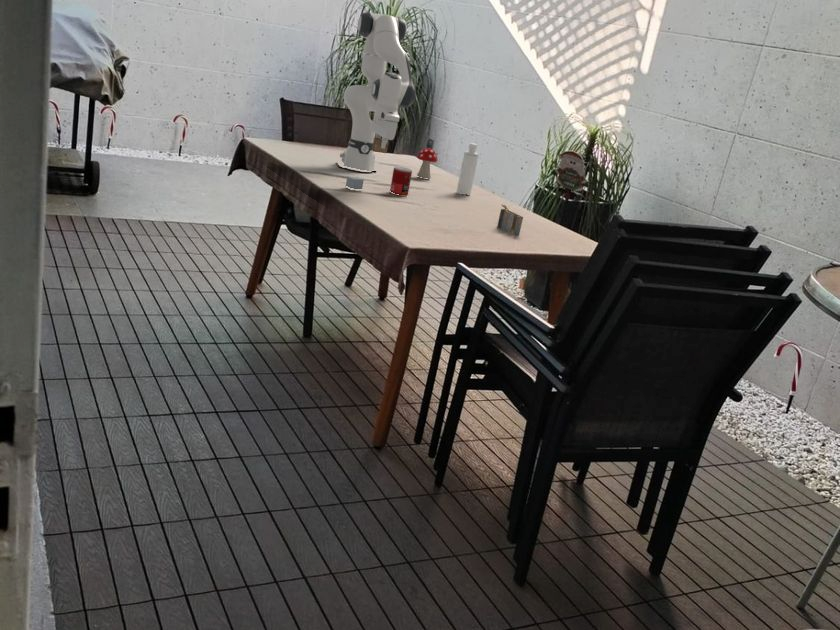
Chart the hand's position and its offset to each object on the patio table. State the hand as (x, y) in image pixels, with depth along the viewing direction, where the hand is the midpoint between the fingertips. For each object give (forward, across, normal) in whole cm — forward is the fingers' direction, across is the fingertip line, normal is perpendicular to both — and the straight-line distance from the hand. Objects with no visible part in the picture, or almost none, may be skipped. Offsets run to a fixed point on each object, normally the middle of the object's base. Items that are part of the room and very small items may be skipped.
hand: (380, 146), depth 339 cm
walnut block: (+2, 0, 0) cm, 2 cm away
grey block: (+19, +5, -10) cm, 22 cm away
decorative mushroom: (+19, -44, +41) cm, 64 cm away
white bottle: (+19, -16, +50) cm, 56 cm away
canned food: (+19, +3, +11) cm, 22 cm away
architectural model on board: (+18, +52, +39) cm, 68 cm away
